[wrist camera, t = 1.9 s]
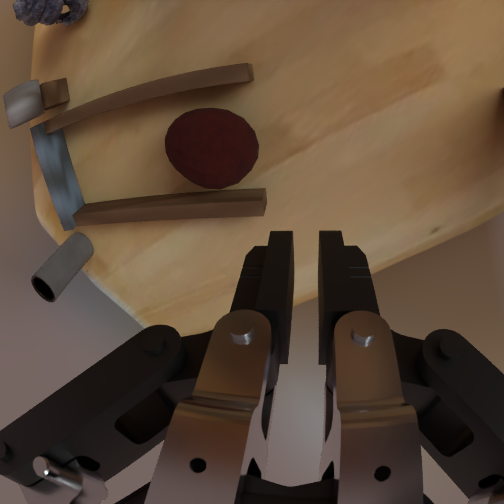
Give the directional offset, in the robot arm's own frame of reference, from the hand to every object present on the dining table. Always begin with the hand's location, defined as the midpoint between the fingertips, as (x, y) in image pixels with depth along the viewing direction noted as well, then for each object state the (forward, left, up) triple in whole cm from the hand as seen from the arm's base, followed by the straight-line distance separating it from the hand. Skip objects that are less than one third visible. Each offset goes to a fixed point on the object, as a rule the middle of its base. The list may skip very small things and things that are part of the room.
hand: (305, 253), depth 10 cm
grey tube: (+12, -32, -19) cm, 39 cm away
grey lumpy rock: (-20, -22, -19) cm, 35 cm away
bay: (-2, -17, -19) cm, 25 cm away
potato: (0, -8, -19) cm, 21 cm away
